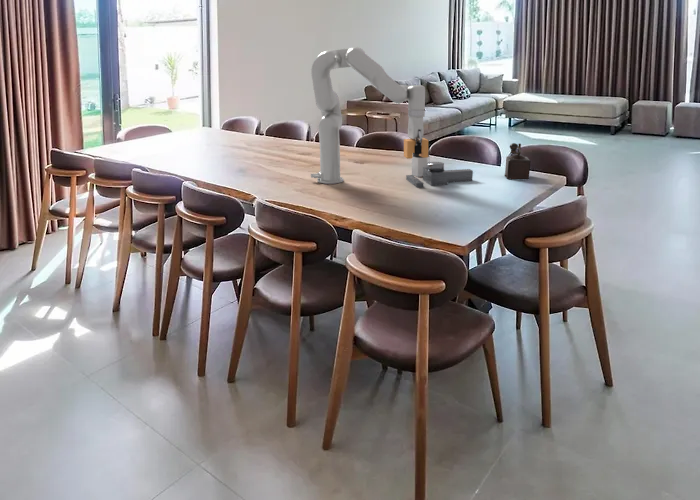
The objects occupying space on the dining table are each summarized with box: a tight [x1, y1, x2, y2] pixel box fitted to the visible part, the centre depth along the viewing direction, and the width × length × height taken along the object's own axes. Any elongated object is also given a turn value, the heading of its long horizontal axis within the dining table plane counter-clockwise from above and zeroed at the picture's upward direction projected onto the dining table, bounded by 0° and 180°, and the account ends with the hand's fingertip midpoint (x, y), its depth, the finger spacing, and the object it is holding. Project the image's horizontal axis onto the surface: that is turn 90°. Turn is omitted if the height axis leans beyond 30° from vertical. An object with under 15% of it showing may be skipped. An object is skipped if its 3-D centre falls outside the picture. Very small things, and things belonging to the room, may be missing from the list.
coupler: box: [405, 161, 474, 189], centre depth 298 cm, size 30×18×9 cm, turn 101°
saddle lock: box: [403, 137, 429, 160], centre depth 292 cm, size 10×6×8 cm, turn 101°
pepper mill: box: [504, 142, 531, 180], centre depth 302 cm, size 16×11×18 cm
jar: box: [411, 150, 431, 178], centre depth 312 cm, size 9×8×12 cm
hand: (415, 152), depth 292 cm, fingers closed on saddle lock, 6 cm apart
